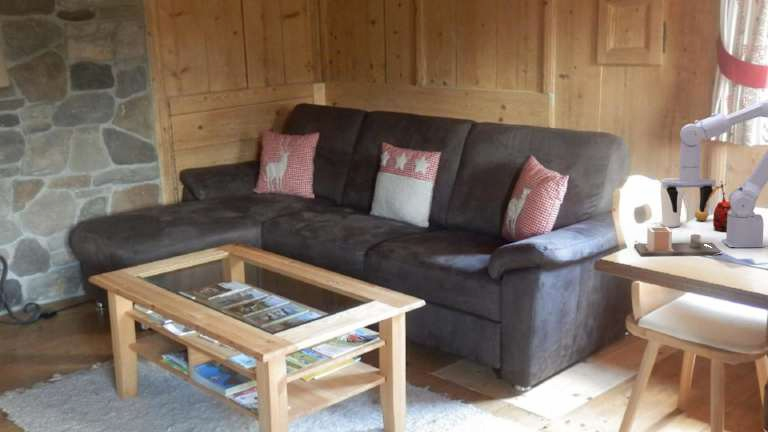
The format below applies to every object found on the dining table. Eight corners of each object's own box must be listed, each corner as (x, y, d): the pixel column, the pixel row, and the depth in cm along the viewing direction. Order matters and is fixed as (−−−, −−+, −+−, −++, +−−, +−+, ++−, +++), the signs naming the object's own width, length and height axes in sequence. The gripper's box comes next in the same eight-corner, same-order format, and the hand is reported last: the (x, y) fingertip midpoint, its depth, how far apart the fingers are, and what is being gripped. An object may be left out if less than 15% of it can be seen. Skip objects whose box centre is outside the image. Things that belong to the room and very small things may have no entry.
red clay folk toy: (720, 233, 260) (722, 185, 257) (707, 228, 267) (709, 181, 264) (742, 231, 262) (745, 183, 259) (728, 226, 269) (731, 179, 265)
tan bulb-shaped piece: (695, 217, 281) (696, 181, 279) (715, 218, 279) (716, 182, 276) (694, 223, 274) (695, 186, 271) (714, 224, 272) (715, 187, 269)
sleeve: (671, 250, 241) (671, 231, 239) (651, 250, 241) (651, 231, 240) (666, 245, 246) (667, 226, 245) (647, 245, 247) (647, 227, 245)
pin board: (711, 245, 247) (712, 230, 246) (721, 255, 237) (722, 239, 236) (634, 247, 249) (634, 232, 248) (640, 256, 240) (641, 240, 239)
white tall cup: (683, 228, 268) (685, 181, 265) (660, 228, 269) (662, 181, 266) (680, 223, 274) (682, 177, 271) (658, 223, 276) (659, 177, 272)
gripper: (712, 162, 250) (710, 208, 253) (661, 164, 251) (659, 209, 254) (718, 166, 243) (716, 213, 246) (666, 168, 244) (665, 214, 247)
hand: (688, 211), depth 249 cm, fingers open, 7 cm apart
